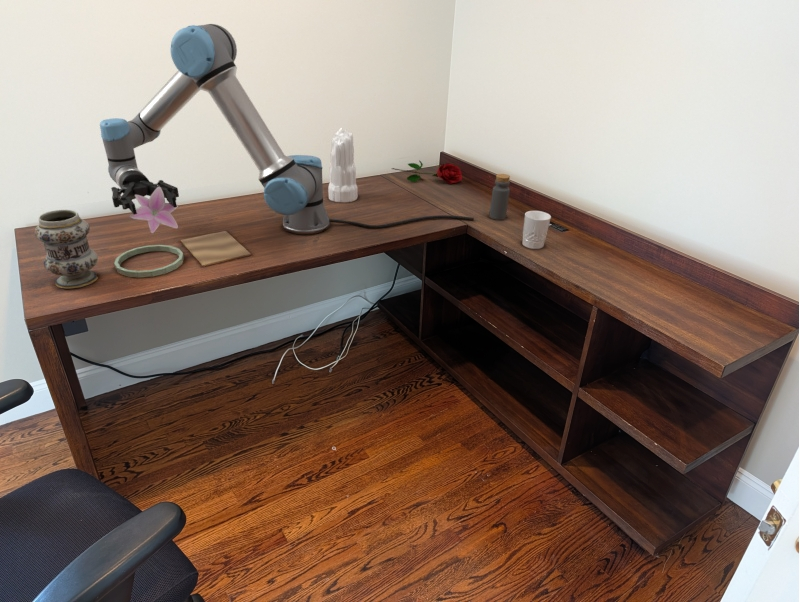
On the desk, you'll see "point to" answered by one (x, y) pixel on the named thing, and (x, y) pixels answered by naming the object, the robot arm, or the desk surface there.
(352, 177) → the white crystal cluster
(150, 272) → the pale green bangle
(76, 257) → the apothecary jar
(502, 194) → the bottle
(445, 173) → the flower
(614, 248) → the desk surface
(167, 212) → the lily
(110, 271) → the desk surface
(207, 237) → the tan wooden board
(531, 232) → the white cup
